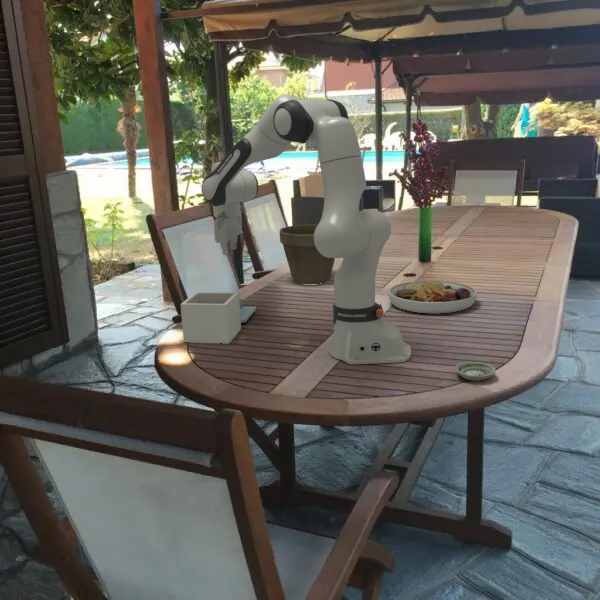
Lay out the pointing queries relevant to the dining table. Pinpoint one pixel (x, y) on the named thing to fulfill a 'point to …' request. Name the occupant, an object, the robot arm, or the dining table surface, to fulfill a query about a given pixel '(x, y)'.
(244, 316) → the lid
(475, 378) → the saucer
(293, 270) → the plant pot
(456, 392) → the dining table surface
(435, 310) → the bowl
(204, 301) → the tub
